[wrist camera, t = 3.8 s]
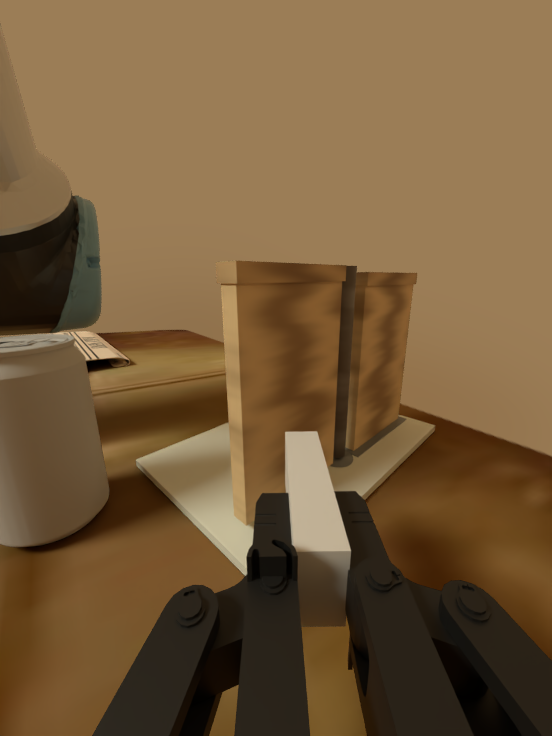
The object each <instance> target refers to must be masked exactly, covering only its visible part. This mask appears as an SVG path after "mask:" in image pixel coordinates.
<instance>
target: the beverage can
mask: <svg viewBox="0 0 552 736" xmlns="http://www.w3.org/2000/svg"><path fill="white" fill-rule="evenodd" d="M74 343H75V339H74V337H73V336H70V335H62V334H39V335H22V336H11V337H2V338H0V544H2V545H5V546H9V547H28V546H39V545H45V544H48V543H52V542H55V541H58V540H60V539H63V538H65V537H67V536H69V535H71V534H73V533H75V532H77V531H78V530H80V529H81V528H83V527H84V526H85V525H87V524H88V523H89V522H90V521H91V520H92V519H93V518H94V517H95V516H96V515H97V514H98V513H99V511H100V510H101V509H102V508H103V506H104V505H105V504H106V502H107V500H108V497H109V484H108V479H107V473H106V468H105V463H104V457H103V452H102V446H101V441H100V435H99V430H98V425H97V419H96V414H95V408H94V403H93V397H92V392H91V387H90V381H89V376H88V370H87V365H86V359H85V356H84V355H83V354H82V353H81V352H80V351H79V350H78V349H77V348H76V347H75V346H74Z"/></svg>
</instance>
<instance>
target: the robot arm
mask: <svg viewBox="0 0 552 736" xmlns="http://www.w3.org/2000/svg"><path fill="white" fill-rule="evenodd" d="M99 251H100V248H99V234H98V225H97V216H96V210H95V207H94V205H93V203H92V202H91V201H89V200H86V199H83V198H81V197H79V196H72V192H71V187H70V184H69V181H68V179H67V177H66V175H65V173H64V172H63V171H62V170H61V168H60V167H59V166H58V165H57V164H56V163H54V162H53V161H52V160H51V159H49V158H48V157H47V156H45V155H44V154H42V153H41V152H40V151H38V150H37V149H36V146H35V143H34V139H33V136H32V132H31V129H30V126H29V122H28V119H27V115H26V112H25V108H24V105H23V101H22V98H21V94H20V91H19V87H18V84H17V80H16V77H15V73H14V70H13V66H12V63H11V59H10V56H9V52H8V49H7V46H6V42H5V39H4V35H3V32H2V28H1V25H0V335H19V334H37V333H57V332H59V331H62V330H71V329H78V328H86V327H89V326H91V325H93V324H94V323H95V322H96V321H97V320H98V318H99V316H100V312H101V269H100V265H99V262H100V255H99ZM285 487H286V493H262V494H261V496H260V497H259V499H258V500H257V502H256V507H255V520H254V532H253V545H252V546H251V547H250V548H249V550H248V553H247V556H246V560H247V575H246V576H245V577H244V578H243V579H242V581H240V582H239V583H238V584H236V585H235V586H233V587H231V588H229V589H226V590H223V591H220V592H217V593H214V592H213V591H212V590H211V589H210V588H208V587H206V586H204V585H192V586H189V587H186V588H183V589H182V590H180V591H179V592H177V593H176V594H175V595H173V597H172V598H171V599H170V601H169V602H168V603H167V604H166V606H165V608H164V610H163V611H162V613H161V615H160V617H159V618H158V620H157V622H156V624H155V626H154V627H153V629H152V631H151V633H150V634H149V636H148V638H147V640H146V641H145V643H144V645H143V647H142V649H141V650H140V652H139V654H138V656H137V657H136V659H135V661H134V663H133V664H132V666H131V668H130V670H129V672H128V673H127V675H126V677H125V679H124V680H123V682H122V684H121V686H120V687H119V689H118V691H117V693H116V695H115V696H114V698H113V700H112V702H111V703H110V705H109V707H108V709H107V710H106V712H105V714H104V716H103V718H102V719H101V721H100V723H99V725H98V726H97V728H96V730H95V732H94V733H93V735H92V736H209V734H210V731H211V727H212V724H213V721H214V718H215V715H216V711H217V708H218V705H219V702H220V698H221V695H222V692H223V691H225V690H228V689H230V688H232V687H234V686H236V685H238V684H239V688H238V700H237V711H236V723H235V735H234V736H310V729H309V716H308V704H307V692H306V679H305V667H304V655H303V642H302V630H301V627H326V626H345V624H346V615H347V620H348V624H349V629H350V640H349V652H348V670H352V667H353V668H354V673H355V678H356V683H357V688H358V693H359V698H360V703H361V708H362V713H363V718H364V723H365V728H366V733H367V736H552V661H551V660H550V659H549V658H548V657H547V655H546V654H545V653H544V652H543V651H542V650H541V649H540V648H539V647H538V646H537V645H536V644H535V643H534V641H533V640H532V639H531V638H530V637H529V636H528V635H527V634H526V633H525V632H524V631H523V630H522V629H521V627H520V626H519V625H518V624H517V623H516V622H515V621H514V620H513V619H512V618H511V617H510V616H509V615H508V614H507V612H506V611H505V610H504V609H503V608H502V607H501V606H500V605H499V604H498V603H497V602H496V601H495V600H494V599H493V598H492V597H491V596H490V595H489V594H488V593H486V592H485V591H484V590H483V589H481V588H479V587H477V586H476V585H474V584H472V583H468V582H465V581H461V580H457V581H450V582H448V583H446V584H445V585H444V587H443V589H442V591H439V590H436V589H432V588H429V587H425V586H422V585H419V584H416V583H414V582H412V581H410V580H408V579H407V578H405V577H404V576H403V574H402V573H401V571H400V570H399V569H398V568H396V567H395V566H394V565H393V564H392V563H391V562H390V560H389V558H388V556H387V553H386V551H385V548H384V546H383V543H382V541H381V539H380V536H379V534H378V531H377V529H376V526H375V524H374V523H373V519H372V517H371V514H370V513H369V509H368V507H367V504H366V502H365V500H364V499H363V498H362V497H361V496H360V495H359V494H358V493H357V492H356V491H334V489H333V486H332V482H331V479H330V475H329V472H328V468H327V464H326V461H325V457H324V454H323V450H322V447H321V443H320V440H319V436H318V433H317V431H304V432H285Z"/></svg>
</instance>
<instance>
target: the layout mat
mask: <svg viewBox="0 0 552 736" xmlns="http://www.w3.org/2000/svg"><path fill="white" fill-rule="evenodd" d="M435 426H436V425H432V424H429V423H426V422H422V421H419V420H416V419H412V418H409V417H406V416H402V415H398V419H396V420H395V421H394V422H392V423H391V424H390V425H388V426H387V427H386V428H384V429H383V430H382V431H380V432H379V433H377V434H376V435H375V436H373V437H372V438H371V439H369V440H368V441H367V442H365V443H364V444H363V445H361V446H360V447H359V448H357V449H356V450H354V451H353V450H350V449H348V448H346V447H345V456H344V457H342V458H334V457H333V464H331V465H330V466H328V467H327V468H328V472H329V475H330V479H331V482H332V486H333V489H334V491H356V492H357V493H358V494H359V495H360V496H361V497H362V498H363V499H364V500H365V499H366V498H367V497H368V496H369V495H370V494H371V493H372V492H373V491H374V490H375V489H376V488H377V487H378V486H379V485H381V484H382V483H383V482H384V481H385V480H386V479H387V478H388V477H389V476H390V475H391V474H392V473H393V472H394V471H395V470H396V469H397V468H398V467H399V466H400V465H401V464H402V463H403V462H404V461H405V460H406V459H407V458H408V457H409V456H410V455H411V454H412V453H413V452H414V451H415V450H416V449H417V448H418V447H419V446H420V445H421V444H422V443H423V442H424V441H425V440H426V439H427V438H428V437H429V436H430V435H431V434H432V433H433V432H434V431H435ZM136 465H137V467H138V468H139V469H140V470H141V471H142V472H143V473H144V474H145V475H146V476H147V477H148V478H149V479H150V480H151V481H152V482H153V483H154V484H155V485H156V486H157V487H158V488H159V489H160V490H161V491H162V492H163V493H164V494H165V495H166V496H167V497H168V498H169V499H170V500H171V501H172V502H173V503H174V504H175V505H176V506H177V507H178V508H179V509H180V510H181V511H182V512H183V513H184V514H185V515H186V516H187V517H188V518H189V519H190V520H191V521H192V522H193V523H194V524H195V525H196V526H197V527H198V528H199V529H200V530H201V531H202V533H203V534H204V535H205V536H206V537H207V538H208V539H209V540H210V541H211V542H212V543H213V544H214V545H215V546H216V547H217V548H218V549H219V550H220V551H221V552H222V553H223V554H224V555H225V556H226V557H227V558H228V559H229V560H230V561H231V562H232V563H233V564H234V565H235V566H236V567H237V568H238V569H239V570H240V571H241V572H242V573H243V574H244V575H245V576H246V575H247V560H246V556H247V553H248V550H249V548H250V547H251V546H252V545H253V532H254V521H253V522H251V523H250V524H249V525H247V526H246V525H245V524H243V523H242V522H241V521H240V520H239V519H237V518H236V517H235V516H234V506H233V488H232V471H231V453H230V435H229V422H228V423H226V424H223V425H221V426H218V427H216V428H213V429H211V430H208V431H206V432H203V433H201V434H198V435H196V436H193V437H191V438H188V439H186V440H183V441H181V442H179V443H176V444H174V445H171V446H169V447H166V448H164V449H161V450H159V451H156V452H154V453H151V454H149V455H146V456H144V457H141V458H139V459H136Z"/></svg>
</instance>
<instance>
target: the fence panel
mask: <svg viewBox="0 0 552 736" xmlns="http://www.w3.org/2000/svg"><path fill="white" fill-rule="evenodd" d="M356 271H357V266H346V265H321V264H299V263H274V262H251V261H228V262H216V275H217V283H221V292H222V311H223V328H224V346H225V364H226V382H227V399H228V417H229V435H230V453H231V471H232V488H233V506H234V516H235V517H236V518H237V519H239V520H240V521H241V522H242V523H243V524H245V525H246V526H247V525H249V524H250V523H251V522H253V521H254V520H255V507H256V502H257V500H258V499H259V497H260V496H261V494H262V493H286V487H285V432H304V431H317V433H318V436H319V440H320V443H321V447H322V450H323V454H324V457H325V461H326V464H327V467H328V466H330V465H331V464H333V457H334V458H342V457H344V456H345V446H346V430H347V415H348V399H349V383H350V367H351V351H352V335H353V320H354V304H355V288H356Z"/></svg>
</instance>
